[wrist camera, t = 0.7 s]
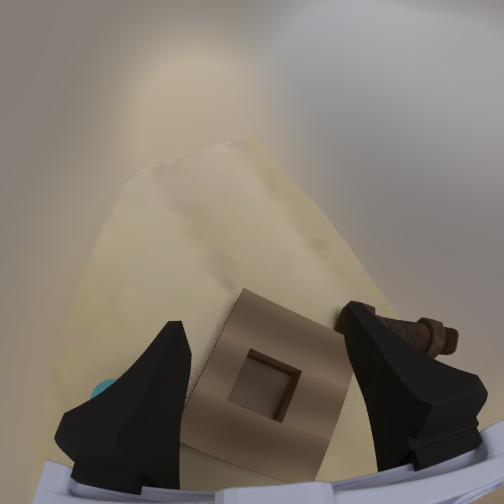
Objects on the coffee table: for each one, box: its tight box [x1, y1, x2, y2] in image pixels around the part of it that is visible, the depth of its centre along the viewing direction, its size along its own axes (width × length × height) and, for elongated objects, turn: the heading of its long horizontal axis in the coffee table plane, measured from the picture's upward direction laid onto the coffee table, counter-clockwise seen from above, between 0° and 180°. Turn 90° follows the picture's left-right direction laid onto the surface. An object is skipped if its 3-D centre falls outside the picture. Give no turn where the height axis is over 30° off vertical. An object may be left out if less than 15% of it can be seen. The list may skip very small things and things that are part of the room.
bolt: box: [336, 301, 459, 359], centre depth 30 cm, size 6×5×15 cm
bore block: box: [180, 288, 353, 483], centre depth 26 cm, size 14×12×4 cm
